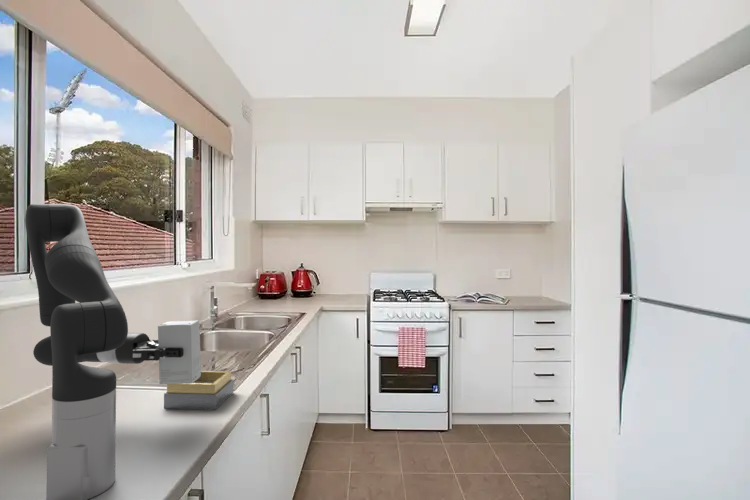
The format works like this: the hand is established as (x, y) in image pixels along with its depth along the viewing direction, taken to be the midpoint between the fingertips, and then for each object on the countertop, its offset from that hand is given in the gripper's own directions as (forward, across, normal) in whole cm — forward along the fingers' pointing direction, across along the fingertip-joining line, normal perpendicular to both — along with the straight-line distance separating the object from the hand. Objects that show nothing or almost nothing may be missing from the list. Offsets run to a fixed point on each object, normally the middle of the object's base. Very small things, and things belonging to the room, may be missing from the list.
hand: (189, 349), depth 98 cm
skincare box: (-2, 0, +8) cm, 9 cm away
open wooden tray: (-3, +13, +17) cm, 22 cm away
